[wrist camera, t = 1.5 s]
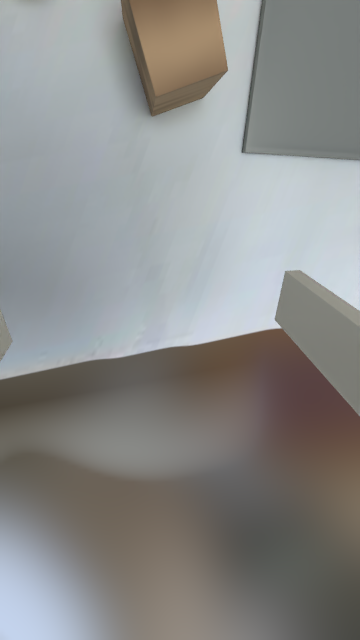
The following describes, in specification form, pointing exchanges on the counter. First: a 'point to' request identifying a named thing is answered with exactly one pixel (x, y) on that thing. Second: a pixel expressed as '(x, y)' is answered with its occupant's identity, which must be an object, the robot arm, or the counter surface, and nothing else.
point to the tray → (306, 80)
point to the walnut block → (175, 49)
